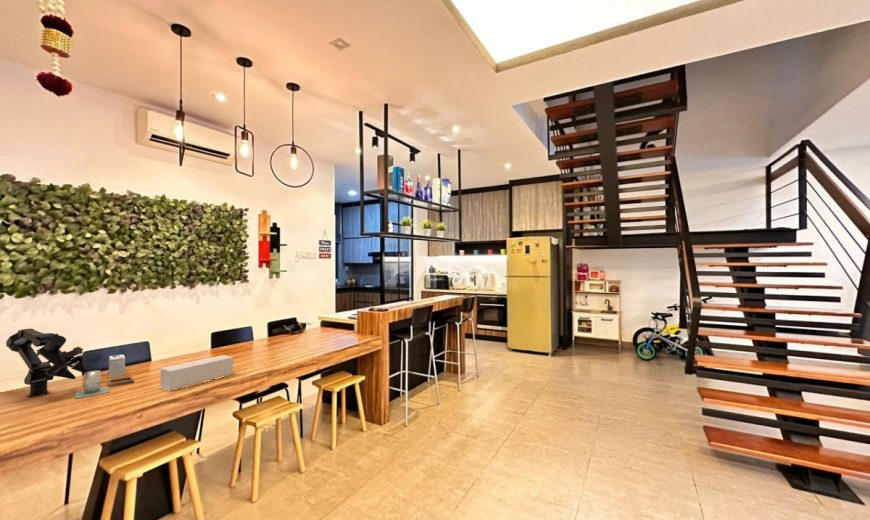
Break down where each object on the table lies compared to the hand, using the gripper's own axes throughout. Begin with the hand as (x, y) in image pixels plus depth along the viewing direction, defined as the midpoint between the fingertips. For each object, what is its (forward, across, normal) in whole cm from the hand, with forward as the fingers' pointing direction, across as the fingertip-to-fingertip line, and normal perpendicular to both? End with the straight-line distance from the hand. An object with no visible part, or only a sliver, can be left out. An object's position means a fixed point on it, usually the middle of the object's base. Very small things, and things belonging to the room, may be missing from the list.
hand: (81, 375), depth 174 cm
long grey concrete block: (+42, +4, -29) cm, 51 cm away
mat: (+10, 0, +3) cm, 10 cm away
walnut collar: (+14, +13, -1) cm, 19 cm away
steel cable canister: (+9, 0, +3) cm, 10 cm away
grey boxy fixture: (+6, +33, +7) cm, 34 cm away
